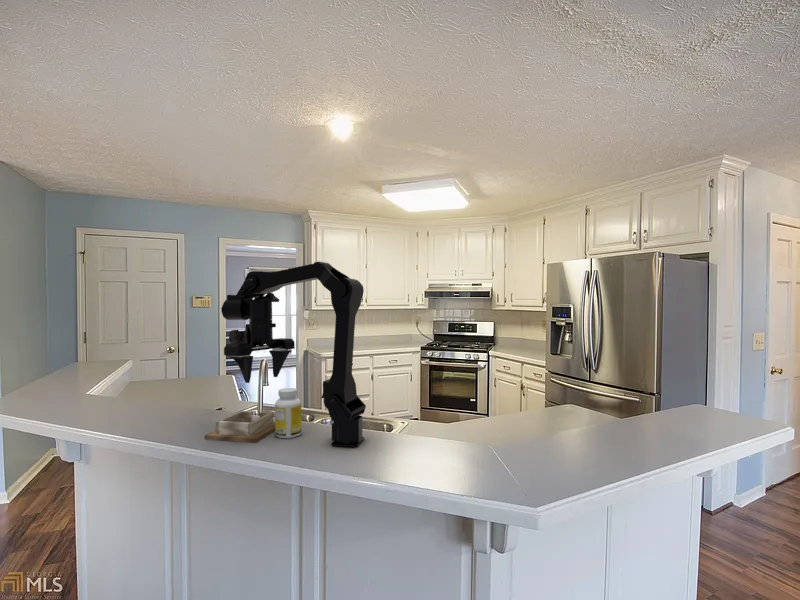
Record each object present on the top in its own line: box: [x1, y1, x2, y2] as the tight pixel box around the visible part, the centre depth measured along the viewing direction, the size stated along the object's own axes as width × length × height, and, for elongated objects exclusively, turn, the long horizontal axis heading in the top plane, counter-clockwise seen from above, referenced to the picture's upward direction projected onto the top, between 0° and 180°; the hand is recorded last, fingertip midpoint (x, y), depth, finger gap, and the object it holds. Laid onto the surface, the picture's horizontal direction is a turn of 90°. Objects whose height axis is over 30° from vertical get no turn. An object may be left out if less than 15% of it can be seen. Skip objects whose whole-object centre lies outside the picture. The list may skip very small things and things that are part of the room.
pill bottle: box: [274, 387, 302, 439], centre depth 110 cm, size 6×6×12 cm
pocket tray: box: [204, 410, 275, 444], centre depth 112 cm, size 14×14×4 cm
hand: (261, 379), depth 111 cm, fingers open, 9 cm apart
